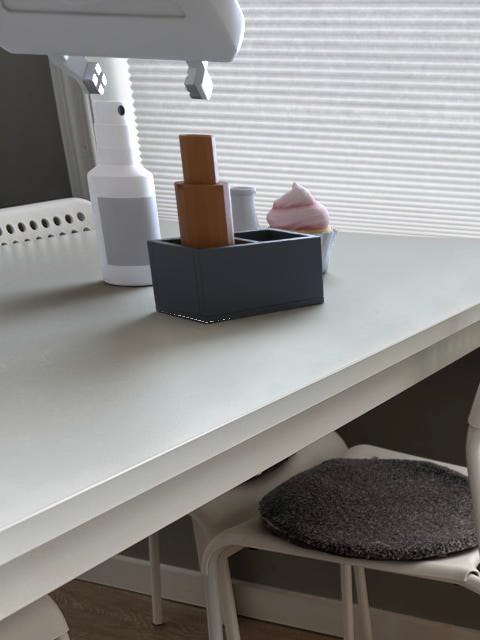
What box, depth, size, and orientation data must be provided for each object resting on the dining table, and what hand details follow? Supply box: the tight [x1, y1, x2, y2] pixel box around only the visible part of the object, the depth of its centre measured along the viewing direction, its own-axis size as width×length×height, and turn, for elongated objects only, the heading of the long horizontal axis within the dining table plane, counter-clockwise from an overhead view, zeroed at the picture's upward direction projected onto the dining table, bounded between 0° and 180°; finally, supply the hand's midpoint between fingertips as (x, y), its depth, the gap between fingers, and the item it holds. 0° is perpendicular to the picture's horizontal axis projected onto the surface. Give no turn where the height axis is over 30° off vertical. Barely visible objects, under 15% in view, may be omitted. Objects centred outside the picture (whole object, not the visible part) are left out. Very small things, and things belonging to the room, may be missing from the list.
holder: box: [147, 227, 325, 325], centre depth 97 cm, size 8×15×7 cm, turn 141°
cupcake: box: [262, 181, 340, 273], centre depth 115 cm, size 9×9×10 cm
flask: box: [230, 186, 261, 232], centre depth 107 cm, size 7×7×10 cm
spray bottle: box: [86, 99, 162, 287], centre depth 104 cm, size 7×7×18 cm
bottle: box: [173, 133, 235, 249], centre depth 92 cm, size 5×5×15 cm
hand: (149, 90), depth 79 cm, fingers open, 8 cm apart
